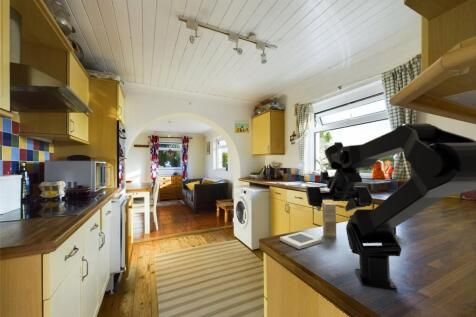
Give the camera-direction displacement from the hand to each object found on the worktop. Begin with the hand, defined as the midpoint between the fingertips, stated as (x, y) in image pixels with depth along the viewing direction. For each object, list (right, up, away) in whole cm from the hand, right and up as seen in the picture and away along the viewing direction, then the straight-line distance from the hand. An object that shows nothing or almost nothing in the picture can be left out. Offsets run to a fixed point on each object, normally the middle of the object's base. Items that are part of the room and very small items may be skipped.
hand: (332, 210), depth 71 cm
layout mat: (-11, -11, 0) cm, 15 cm away
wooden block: (+1, -11, +3) cm, 11 cm away
